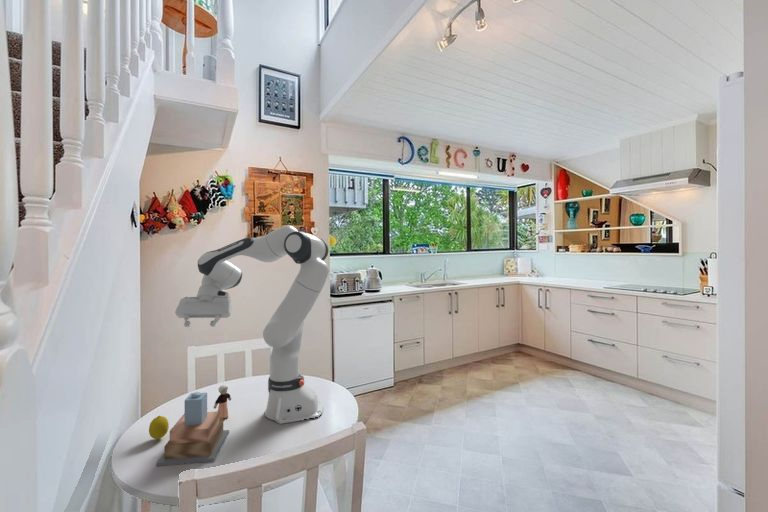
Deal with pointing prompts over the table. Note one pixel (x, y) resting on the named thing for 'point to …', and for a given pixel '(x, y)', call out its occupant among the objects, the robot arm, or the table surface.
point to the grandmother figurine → (222, 402)
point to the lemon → (158, 427)
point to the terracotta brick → (194, 438)
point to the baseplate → (196, 459)
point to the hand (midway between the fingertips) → (199, 325)
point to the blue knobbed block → (195, 408)
